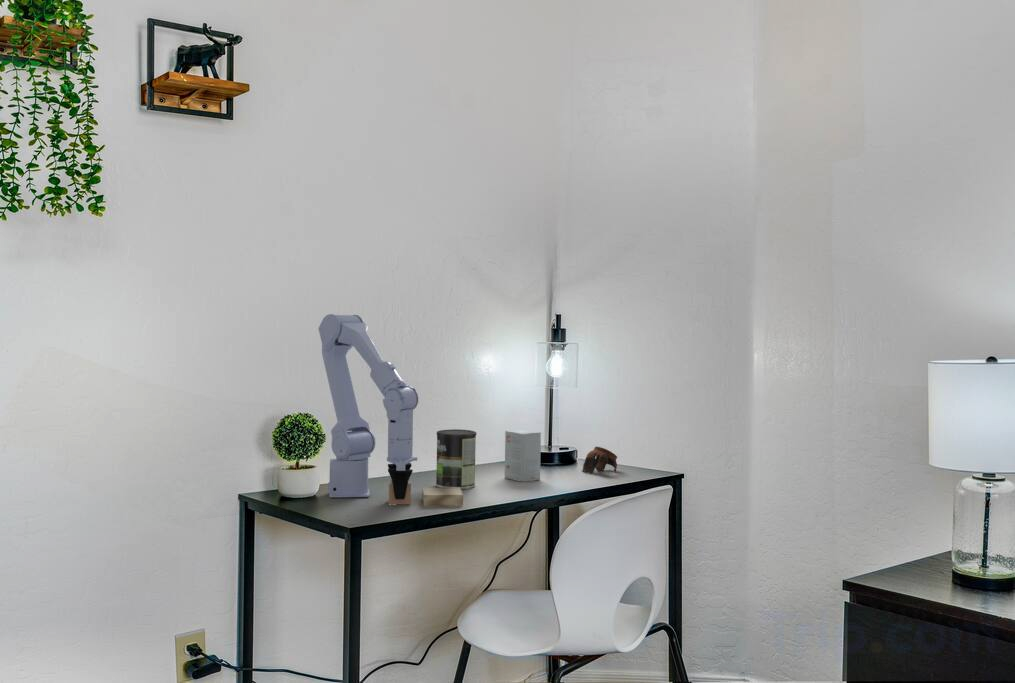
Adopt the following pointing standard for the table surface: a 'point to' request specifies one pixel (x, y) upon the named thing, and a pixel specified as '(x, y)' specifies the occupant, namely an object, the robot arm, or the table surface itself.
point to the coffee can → (456, 459)
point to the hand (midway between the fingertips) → (399, 496)
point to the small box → (522, 455)
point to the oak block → (442, 496)
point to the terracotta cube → (399, 501)
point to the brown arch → (599, 460)
